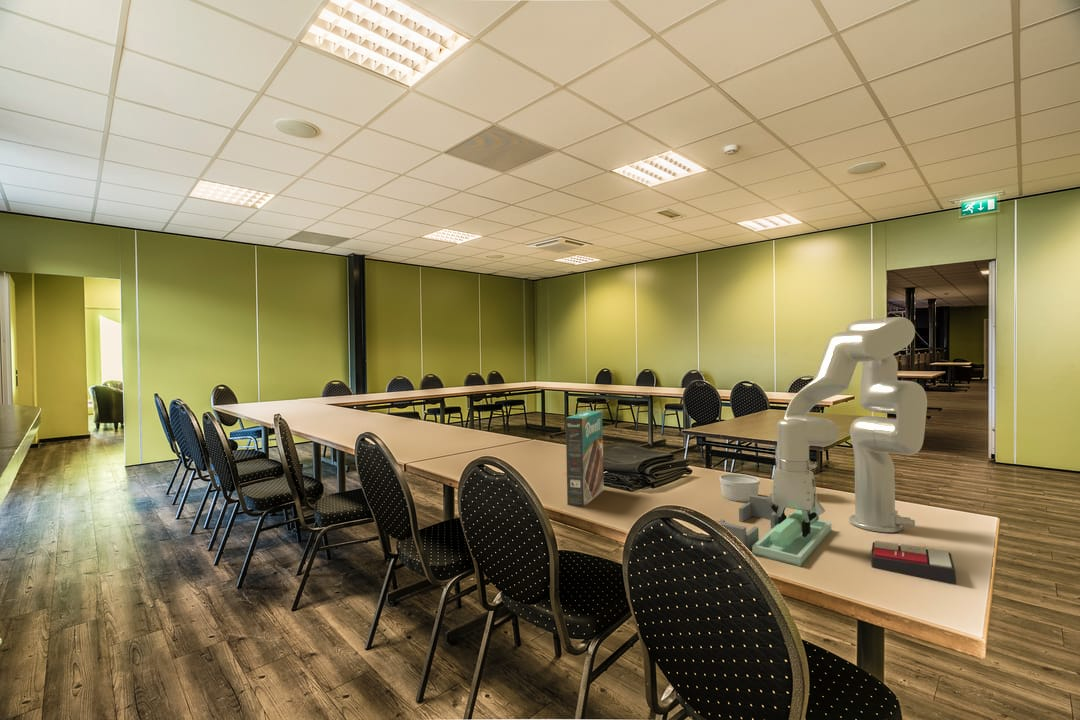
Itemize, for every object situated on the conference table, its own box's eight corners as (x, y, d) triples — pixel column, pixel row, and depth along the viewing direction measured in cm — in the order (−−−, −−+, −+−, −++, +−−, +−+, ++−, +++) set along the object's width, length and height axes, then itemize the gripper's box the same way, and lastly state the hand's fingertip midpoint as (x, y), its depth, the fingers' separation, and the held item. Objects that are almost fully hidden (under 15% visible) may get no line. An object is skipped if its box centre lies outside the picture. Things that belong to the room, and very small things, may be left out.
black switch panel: (872, 538, 120) (950, 548, 111) (873, 555, 120) (951, 567, 111) (870, 553, 112) (954, 565, 102) (871, 571, 111) (956, 586, 102)
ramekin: (765, 496, 169) (764, 477, 169) (753, 505, 159) (752, 485, 159) (727, 490, 177) (726, 471, 177) (713, 498, 167) (713, 478, 167)
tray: (831, 530, 135) (831, 522, 135) (800, 566, 112) (800, 557, 112) (789, 521, 143) (789, 514, 143) (752, 554, 120) (752, 545, 120)
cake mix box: (583, 506, 161) (582, 418, 161) (567, 504, 164) (565, 417, 163) (603, 489, 181) (602, 411, 181) (588, 488, 183) (587, 410, 183)
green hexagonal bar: (783, 525, 117) (814, 500, 135) (761, 529, 121) (793, 504, 139) (794, 550, 116) (823, 521, 134) (770, 553, 120) (802, 525, 137)
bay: (784, 520, 144) (784, 500, 144) (745, 553, 121) (745, 529, 121) (750, 513, 151) (750, 494, 151) (707, 543, 128) (707, 521, 127)
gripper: (832, 467, 124) (833, 536, 124) (764, 458, 136) (765, 522, 136) (825, 472, 119) (827, 545, 119) (755, 463, 131) (756, 529, 131)
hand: (794, 532), depth 128 cm, fingers closed on green hexagonal bar, 4 cm apart
